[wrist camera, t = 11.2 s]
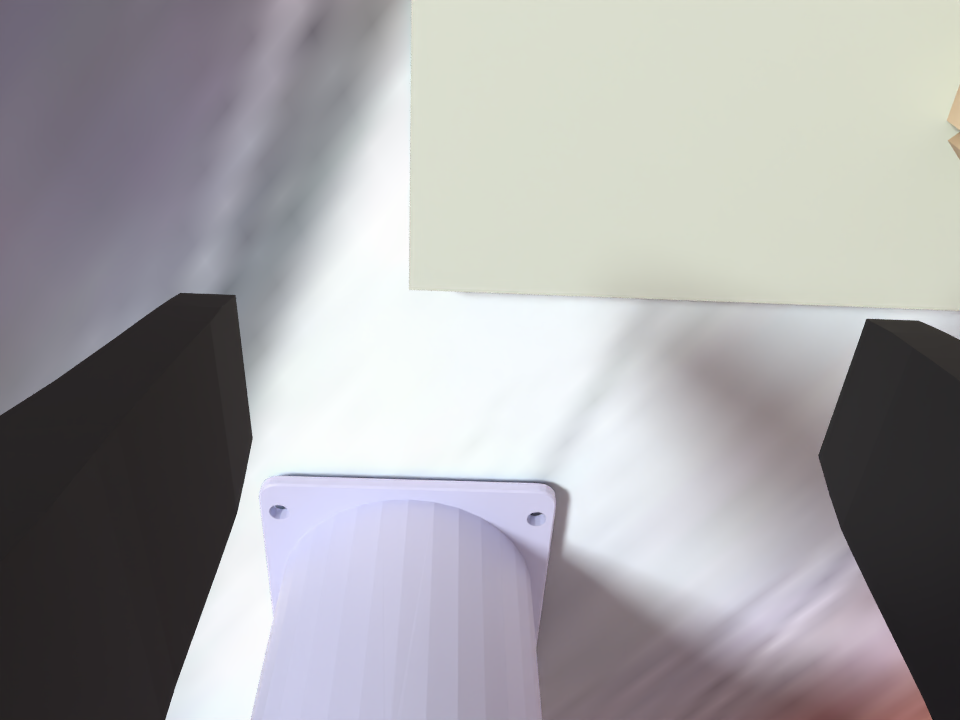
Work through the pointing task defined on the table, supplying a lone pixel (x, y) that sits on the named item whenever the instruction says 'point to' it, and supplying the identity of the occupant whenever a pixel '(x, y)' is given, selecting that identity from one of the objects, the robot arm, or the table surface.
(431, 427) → the table surface
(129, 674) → the robot arm
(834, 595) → the table surface
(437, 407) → the table surface
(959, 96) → the bead
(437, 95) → the board
